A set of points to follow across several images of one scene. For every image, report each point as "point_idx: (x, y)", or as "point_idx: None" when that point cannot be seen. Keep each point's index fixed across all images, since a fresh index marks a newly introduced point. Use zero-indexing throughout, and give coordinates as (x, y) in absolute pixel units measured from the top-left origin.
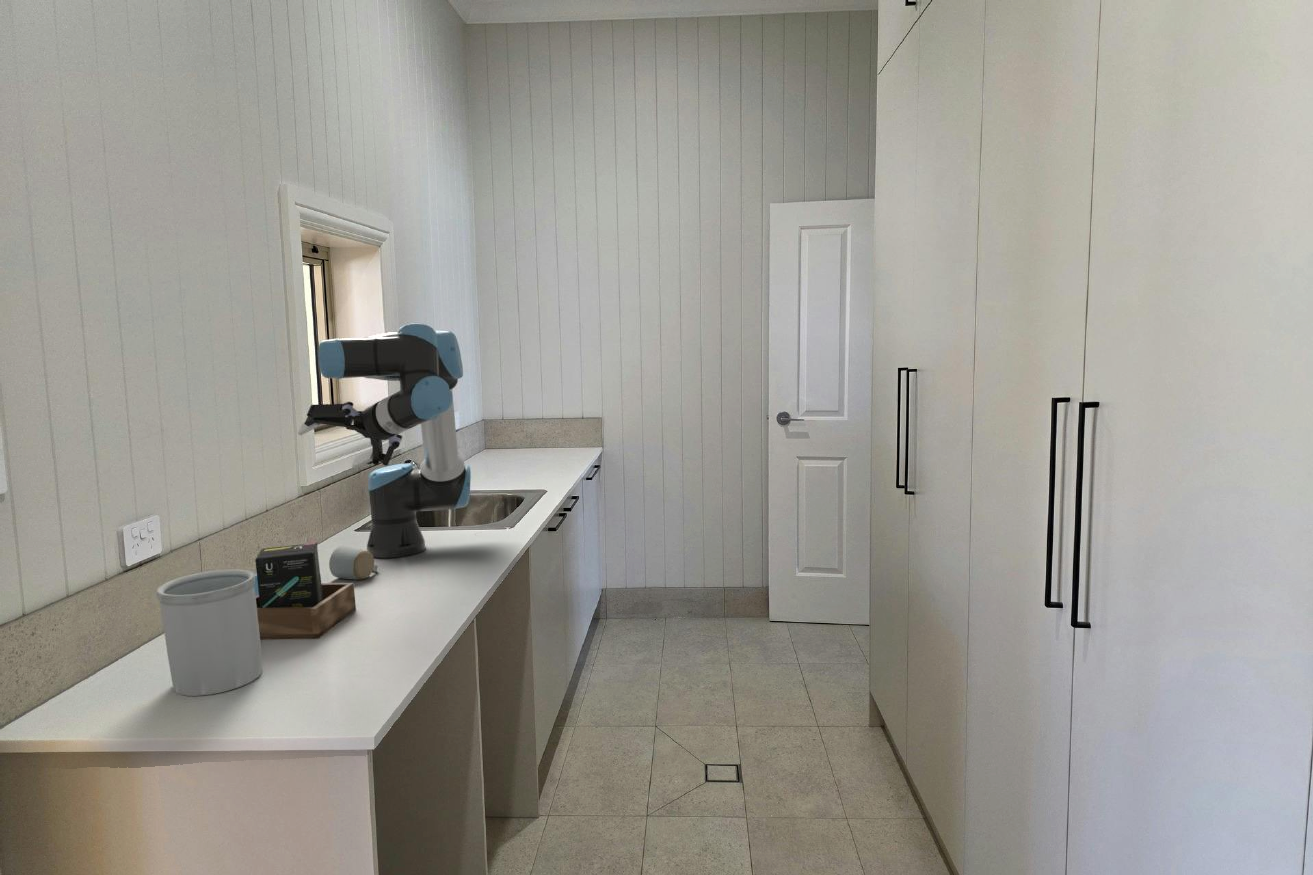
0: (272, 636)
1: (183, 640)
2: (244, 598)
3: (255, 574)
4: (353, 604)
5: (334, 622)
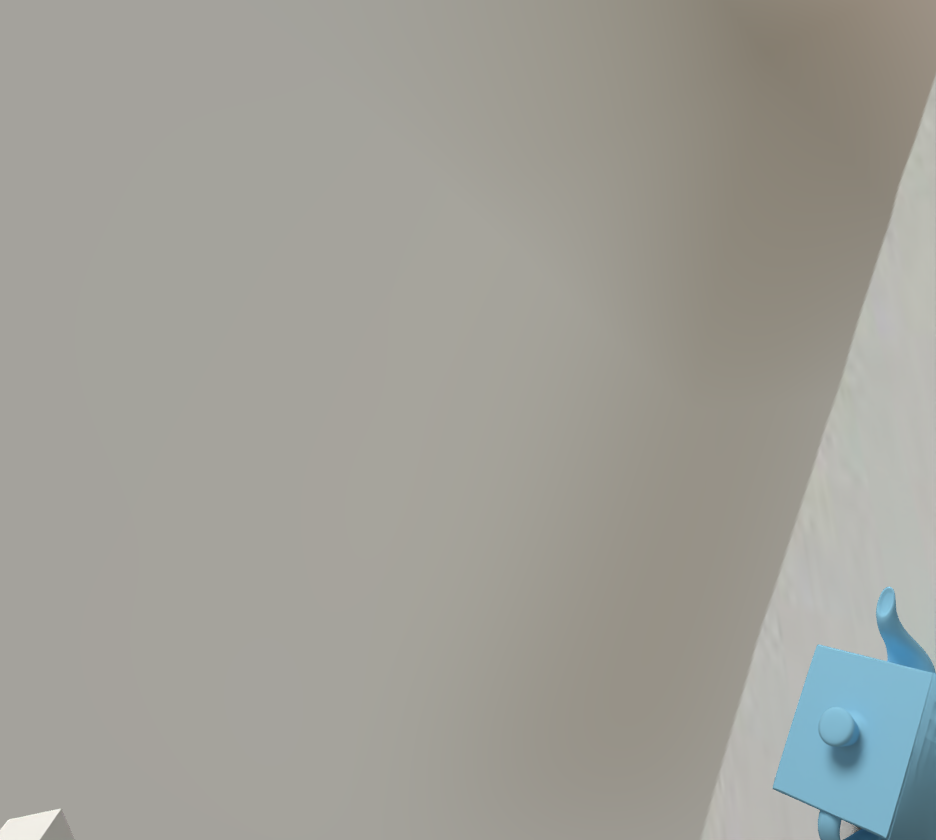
0: None
1: None
2: None
3: (782, 759)
4: None
5: None
